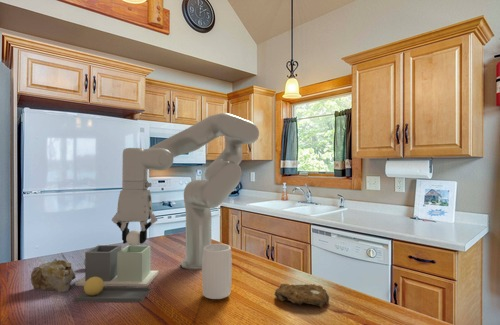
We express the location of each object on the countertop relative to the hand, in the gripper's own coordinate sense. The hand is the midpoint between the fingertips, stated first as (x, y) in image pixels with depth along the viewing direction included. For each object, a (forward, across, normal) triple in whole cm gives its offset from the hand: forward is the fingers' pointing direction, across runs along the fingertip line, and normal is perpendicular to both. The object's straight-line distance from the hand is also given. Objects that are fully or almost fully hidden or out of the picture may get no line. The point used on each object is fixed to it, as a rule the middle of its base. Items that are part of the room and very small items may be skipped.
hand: (134, 241), depth 95 cm
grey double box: (+13, +5, 0) cm, 13 cm away
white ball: (+1, 0, 0) cm, 1 cm away
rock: (+13, +22, +6) cm, 26 cm away
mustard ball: (+12, +7, +11) cm, 18 cm away
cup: (+13, -28, +11) cm, 33 cm away
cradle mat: (+13, +1, +11) cm, 17 cm away
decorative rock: (+13, -52, +12) cm, 55 cm away
